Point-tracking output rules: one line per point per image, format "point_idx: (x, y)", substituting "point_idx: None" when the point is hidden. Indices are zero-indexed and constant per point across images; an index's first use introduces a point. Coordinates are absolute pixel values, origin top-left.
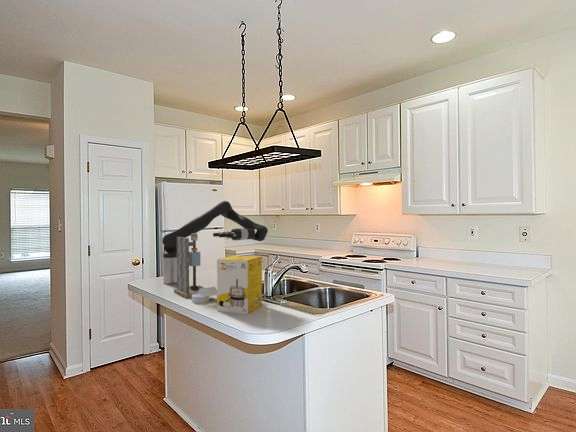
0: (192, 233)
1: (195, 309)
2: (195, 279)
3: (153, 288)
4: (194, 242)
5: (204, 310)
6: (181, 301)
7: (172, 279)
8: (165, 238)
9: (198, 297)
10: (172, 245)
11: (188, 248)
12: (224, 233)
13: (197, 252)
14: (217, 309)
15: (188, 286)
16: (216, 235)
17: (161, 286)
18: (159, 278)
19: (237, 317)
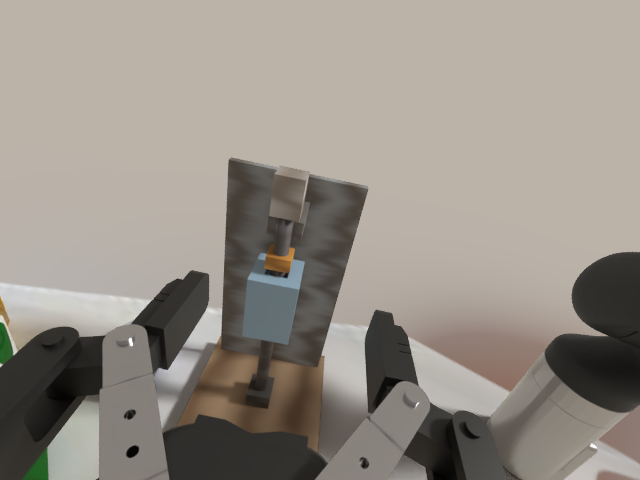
0: (307, 174)
1: (98, 301)
2: (257, 368)
3: (420, 356)
4: (268, 216)
5: (62, 306)
6: (202, 322)
7: (494, 431)
8: (593, 263)
9: (131, 322)
10: (582, 316)
11: (227, 205)
12: (289, 437)
13: (252, 270)
14: (7, 316)
15: (222, 328)
16: (371, 365)
17: (444, 386)
18: (633, 464)
19: None
